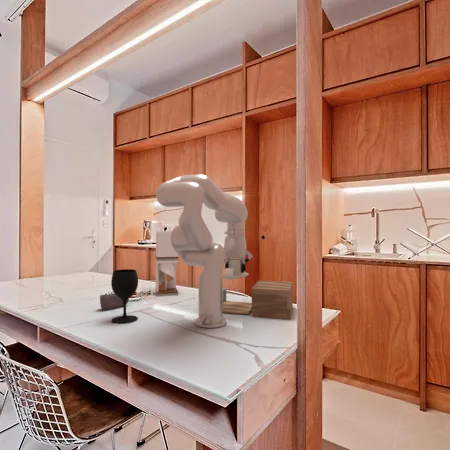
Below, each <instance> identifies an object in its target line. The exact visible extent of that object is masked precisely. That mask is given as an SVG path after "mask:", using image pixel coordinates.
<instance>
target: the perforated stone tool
mask: <svg viewBox="0 0 450 450" xmlns="http://www.w3.org/2000/svg"><path fill="white" fill-rule="evenodd" d="M129 301H130V298H129V299H127V302H126V305H127V304H128V303H129ZM99 304H100V308H101V310H102V311H103V310H104V311H105V310H106V311H107V310H114V309H117V308H121V307H124V306H123V300H122V299H120V298H119V297H118V296H116V295H115V293H110V294H100V295H99Z"/></svg>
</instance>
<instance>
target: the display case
mask: <svg viewBox="0 0 450 450" xmlns="http://www.w3.org/2000/svg"><path fill="white" fill-rule="evenodd" d="M171 232H172V230H170V231H169V230H168V231H167V230H165V231H164V230H162V231H161V230H159V231H157V230H156V231H155V295H156V297H167V296H168V297H169V296H179V291H178V289H177V264H178V263H179V255H178V254H177V253H176V251H175V250H174V248H173V247H172V244H171V239H170V236H171Z"/></svg>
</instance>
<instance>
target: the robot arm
mask: <svg viewBox="0 0 450 450" xmlns="http://www.w3.org/2000/svg"><path fill="white" fill-rule="evenodd" d="M155 196H156V201H157V202H158V204H159V205H161V206H163V207H165V208H166V207H167V208H174V207H181V208H182V207H183V210H182V212H181V214H180V215H179V217H178V225H177V226H175V227H174V228H172V230H171V231H172V232H171V236H170V239H171V244H172V247H173V248H174V250H175V251H176V253H177V254H178V258H180V259H181V260H182V261H183V263H184V264H185V265H187V266H189V267H201V268H203V270H202V271H201V272H200V275H199V277H198V317H196V318H195V319H194V325H195V326H197V327H200V328H203V329H204V328H205V329H215V328H221V327H223V326H225V325H227V319H226V318H225V317H223V316H224V315H223V314H224V313H223V288H224V284H223V283H224V280H223V275H224V270H225V269H226V268H228V259H241V260H242V273H244V271H245V272H246V270H247V269H246V268H247V267H246V265H247V263H248V262H249V261H250V260H251V259H252V258H253V254H251V253H250V251H249V250H247V241H246V236H244V233H245V232H244V226H245V223H244V222H245V221H247V219H248V216H249V213H248V209H247V207H246V204H244V203H243V201H242V200H241V199H240V198H238V197H236V196H234V195H231V194H229V193H228V192H227V193H226V192H224V191H222V190H221V189H220V188H219V187H218V186H217V185H216V184H215V182H214V181H213V180H212V179H211V178H210V176H208V175H206V174H202V173H200V174H199V173H197V174H185V175H180V176H177V177H175V178H172V179H170V180H167V181H164V182H163V183H160V185H159V186H158V187H157V190H156V195H155ZM203 205H205V207H207V208H208V209H210V210H212V211H215V212H214V218H215V220H216V221H217V222H220V223H227V224H226V225H227V229H226V230H224V234H225V235H226V236H225V238H224V244H223V246H222V245H221V244H219V243H216V242H213V240H214V239H213V235H212V234H211V231H210V230H209V228H208V227H207V224H206V223H205V221H204V219H203V218H202V211H203V210H202V209H203ZM247 256H248V257H247Z"/></svg>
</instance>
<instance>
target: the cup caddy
mask: <svg viewBox="0 0 450 450" xmlns="http://www.w3.org/2000/svg"><path fill="white" fill-rule="evenodd" d="M224 271H225V273H224V274H223V279H224V280H232V281H233V280H237V279H240V278H245V277H248V276H249V272H246V271H244V273H242V260H241V258H230V259H228V268H226V269H225V268H224Z"/></svg>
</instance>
